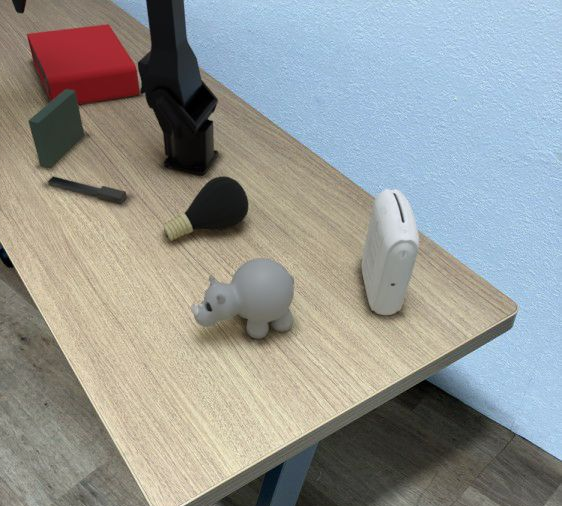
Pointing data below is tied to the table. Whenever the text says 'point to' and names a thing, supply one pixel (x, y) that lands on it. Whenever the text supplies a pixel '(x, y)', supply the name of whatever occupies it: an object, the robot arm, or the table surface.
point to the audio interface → (84, 63)
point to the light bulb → (211, 209)
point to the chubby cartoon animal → (250, 298)
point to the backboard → (56, 128)
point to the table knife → (90, 190)
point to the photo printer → (389, 252)
